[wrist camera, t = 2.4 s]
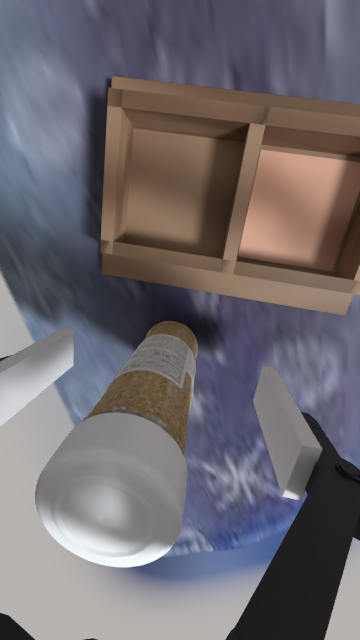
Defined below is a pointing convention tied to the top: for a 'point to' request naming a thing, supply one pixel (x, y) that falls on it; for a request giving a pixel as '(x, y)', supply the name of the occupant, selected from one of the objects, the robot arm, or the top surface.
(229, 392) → the top surface
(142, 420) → the sprinkles bottle
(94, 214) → the top surface
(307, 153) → the slot rack
